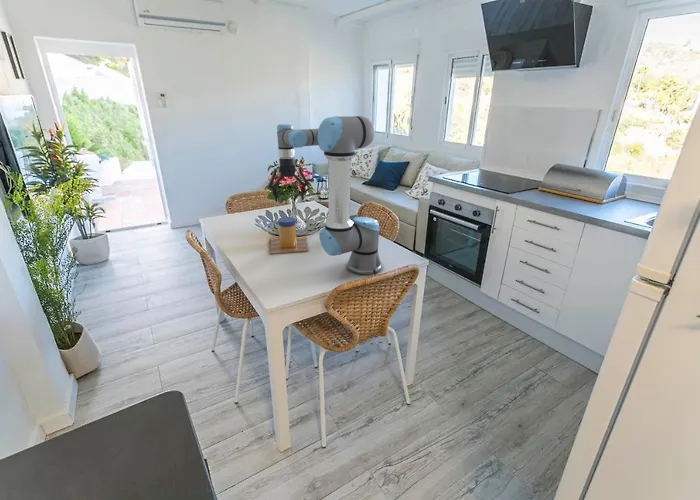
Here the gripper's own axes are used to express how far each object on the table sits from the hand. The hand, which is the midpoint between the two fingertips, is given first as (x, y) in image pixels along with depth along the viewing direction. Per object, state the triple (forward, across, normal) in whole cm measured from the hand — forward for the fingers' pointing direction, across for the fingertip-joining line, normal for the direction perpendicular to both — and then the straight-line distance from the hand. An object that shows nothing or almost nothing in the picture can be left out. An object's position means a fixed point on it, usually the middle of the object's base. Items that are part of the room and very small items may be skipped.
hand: (289, 200), depth 179 cm
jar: (+22, +3, +5) cm, 23 cm away
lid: (+9, +3, +6) cm, 11 cm away
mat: (+22, +3, +5) cm, 23 cm away
